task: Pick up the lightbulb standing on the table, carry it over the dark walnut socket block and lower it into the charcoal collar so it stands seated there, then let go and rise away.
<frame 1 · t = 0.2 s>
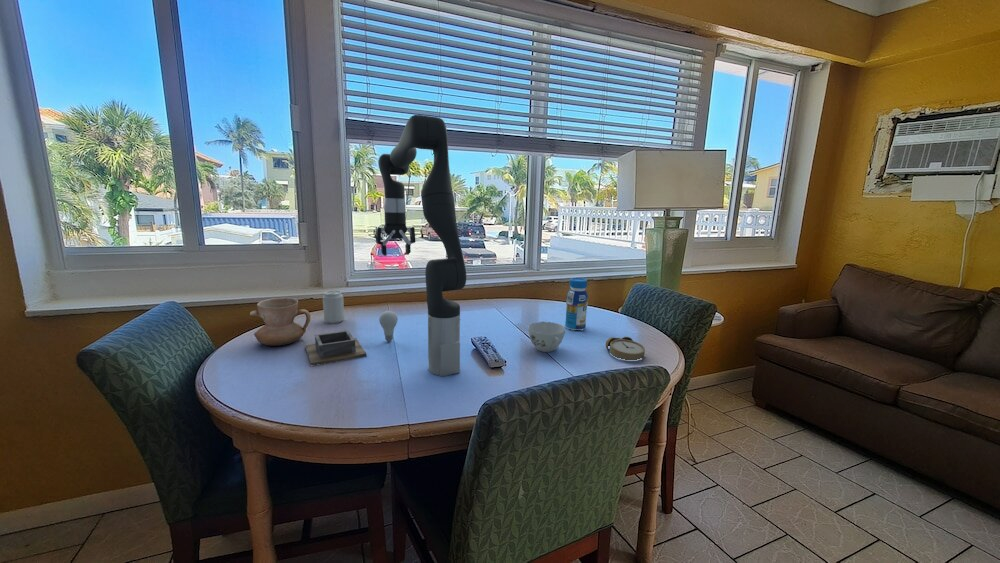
hand: (396, 254, 150), 28 cm above the table, tool pointing down, fingers open, 8 cm apart
can: (334, 321, 161), on the table
alarm clock: (623, 354, 136), on the table
beverage bottle: (575, 328, 161), on the table
teacup: (546, 350, 137), on the table
lightbulb: (389, 341, 141), on the table
socket: (335, 352, 130), on the table
ceramic jug: (283, 342, 138), on the table
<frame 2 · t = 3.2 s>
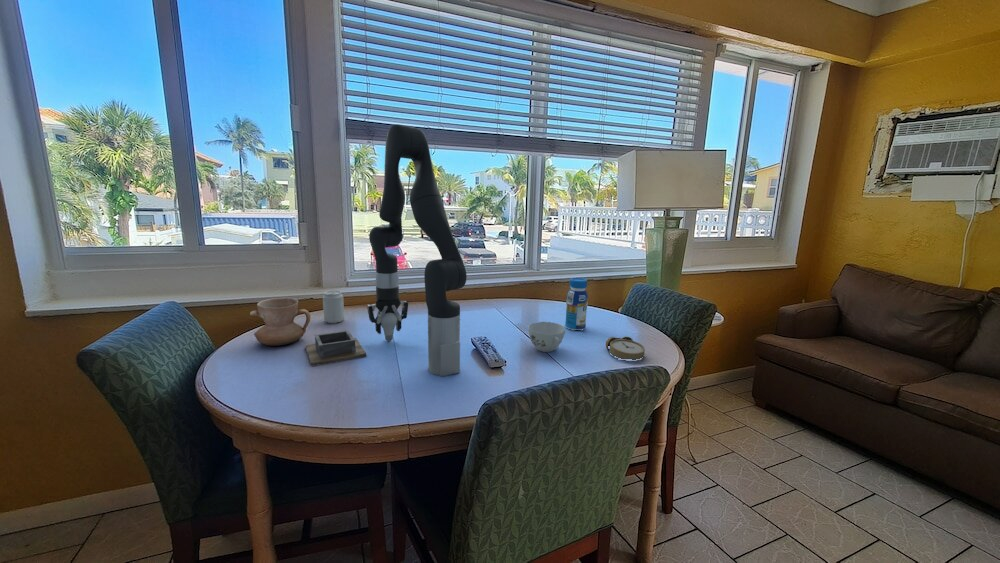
hand: (388, 331, 140), 4 cm above the table, tool pointing down, fingers closed on lightbulb, 6 cm apart
lightbulb: (389, 341, 141), on the table, touching gripper
everything else where it was.
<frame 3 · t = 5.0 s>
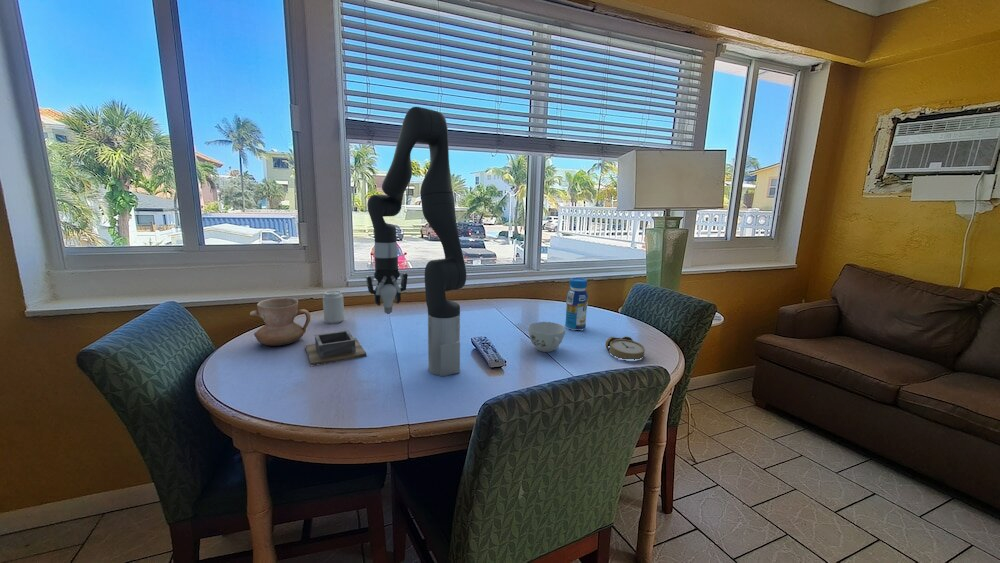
hand: (388, 303, 138), 14 cm above the table, tool pointing down, fingers closed on lightbulb, 6 cm apart
lightbulb: (388, 314, 138), point 10 cm above the table, touching gripper
everything else where it was.
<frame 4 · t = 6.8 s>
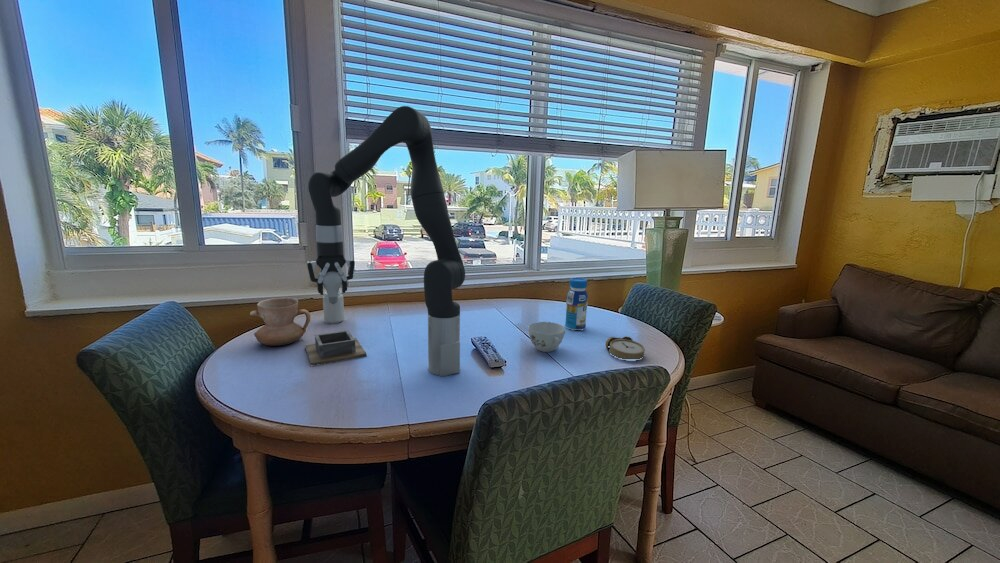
hand: (332, 293, 126), 20 cm above the table, tool pointing down, fingers closed on lightbulb, 6 cm apart
lightbulb: (333, 304, 127), point 16 cm above the table, touching gripper
everything else where it was.
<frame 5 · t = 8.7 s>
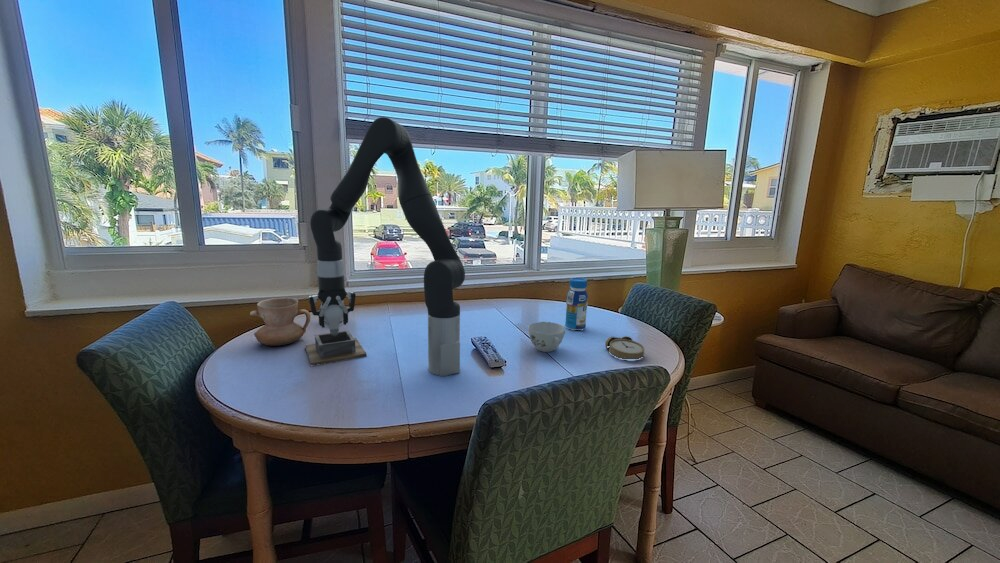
hand: (334, 325, 128), 9 cm above the table, tool pointing down, fingers closed on lightbulb, 6 cm apart
lightbulb: (334, 336, 129), point 5 cm above the table, touching gripper
everything else where it was.
when the fingers open (6 cm above the table, at t = 10.3 s): lightbulb drops 2 cm, resting on socket.
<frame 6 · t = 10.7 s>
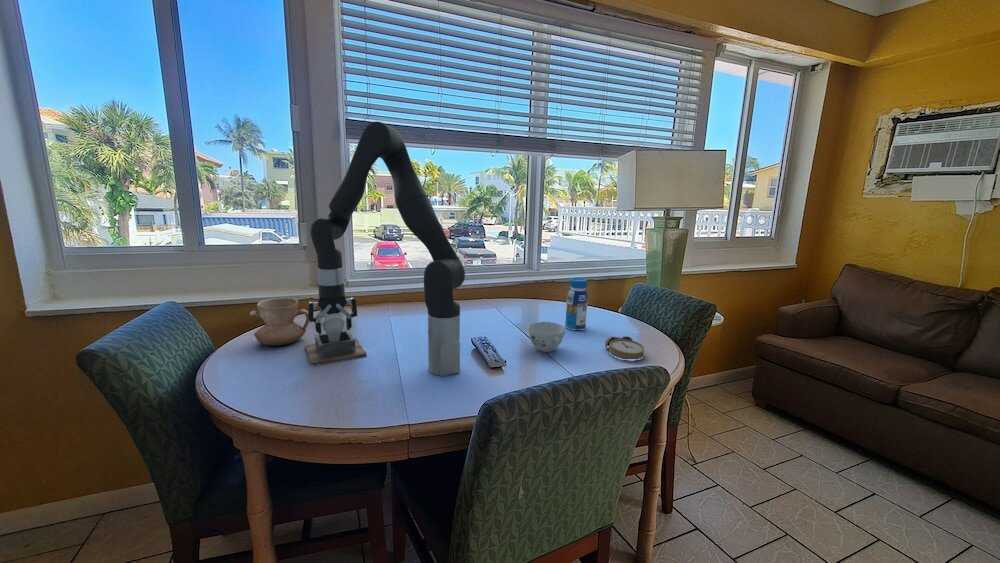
hand: (334, 331, 128), 7 cm above the table, tool pointing down, fingers open, 8 cm apart
lightbulb: (334, 349, 129), point 1 cm above the table, touching socket
everything else where it was.
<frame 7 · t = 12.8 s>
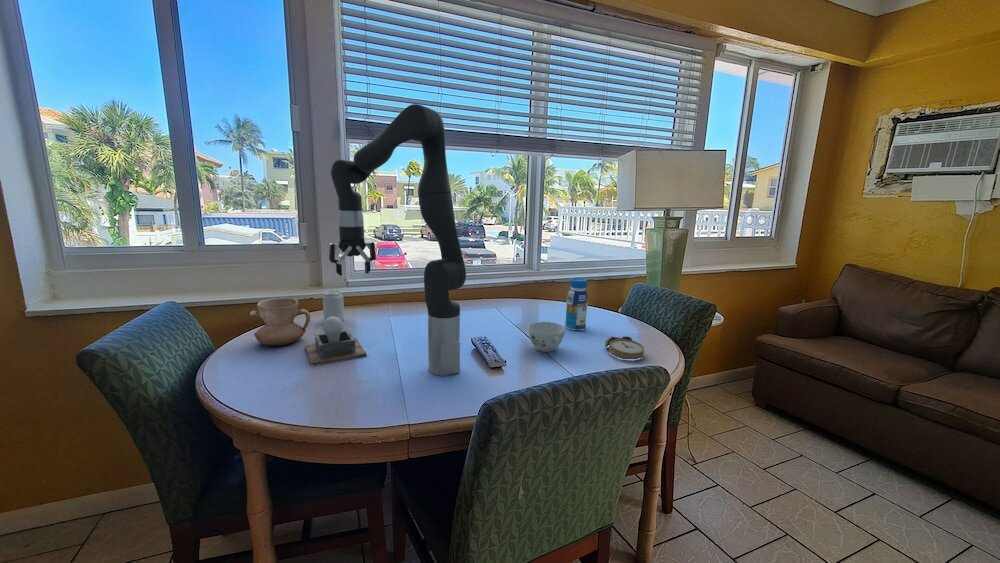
hand: (353, 274, 132), 24 cm above the table, tool pointing down, fingers open, 8 cm apart
nothing on the table moved.
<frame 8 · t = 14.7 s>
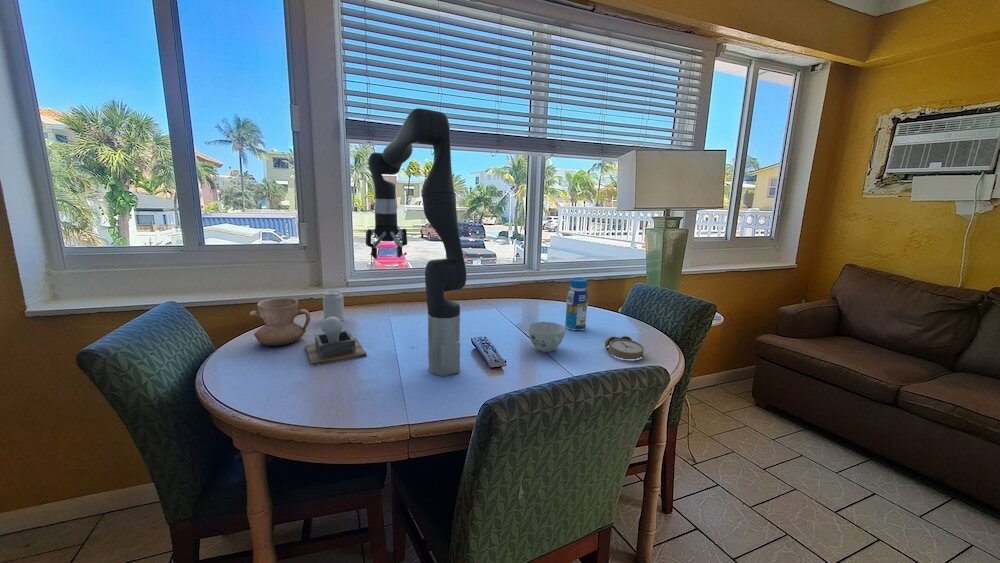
hand: (387, 257, 145), 28 cm above the table, tool pointing down, fingers open, 8 cm apart
nothing on the table moved.
at the end: lightbulb 0.3 cm off-centre on the socket, point 0.8 cm above the socket's base; lightbulb tilted 1°; the gripper is holding nothing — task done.
